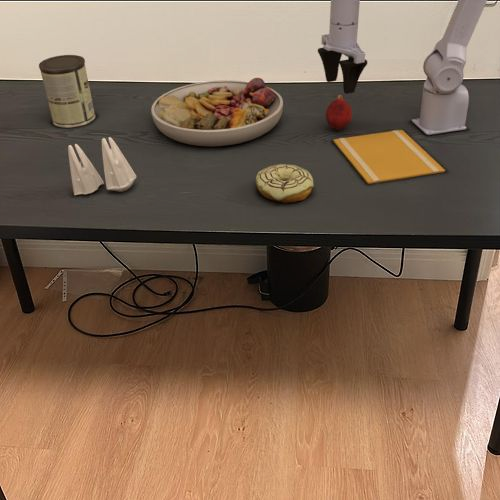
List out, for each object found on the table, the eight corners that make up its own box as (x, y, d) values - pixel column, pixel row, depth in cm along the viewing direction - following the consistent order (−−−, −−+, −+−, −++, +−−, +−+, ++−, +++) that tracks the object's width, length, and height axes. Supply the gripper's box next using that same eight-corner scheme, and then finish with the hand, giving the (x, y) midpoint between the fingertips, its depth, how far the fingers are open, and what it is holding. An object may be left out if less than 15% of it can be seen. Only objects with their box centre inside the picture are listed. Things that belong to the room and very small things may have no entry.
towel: (401, 131, 140) (402, 129, 139) (445, 172, 124) (445, 169, 123) (333, 141, 137) (333, 139, 137) (367, 184, 121) (368, 182, 121)
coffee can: (50, 115, 156) (37, 58, 148) (92, 108, 158) (82, 52, 150) (53, 131, 148) (39, 72, 140) (98, 123, 150) (86, 65, 142)
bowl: (207, 166, 130) (204, 130, 125) (129, 124, 149) (123, 92, 144) (310, 122, 145) (310, 89, 141) (227, 90, 164) (225, 60, 160)
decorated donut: (279, 212, 114) (278, 194, 112) (245, 189, 121) (244, 171, 119) (323, 194, 118) (324, 176, 116) (288, 172, 126) (288, 155, 124)
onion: (350, 136, 139) (352, 101, 134) (324, 134, 140) (324, 100, 135) (352, 125, 143) (354, 91, 139) (326, 124, 144) (327, 90, 140)
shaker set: (138, 184, 125) (130, 132, 118) (134, 194, 121) (125, 142, 115) (78, 185, 125) (67, 133, 119) (73, 196, 122) (60, 143, 116)
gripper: (309, 15, 132) (307, 79, 140) (344, 33, 121) (340, 101, 129) (339, 11, 134) (335, 74, 142) (376, 28, 123) (370, 95, 131)
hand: (340, 86), depth 136 cm, fingers open, 7 cm apart
